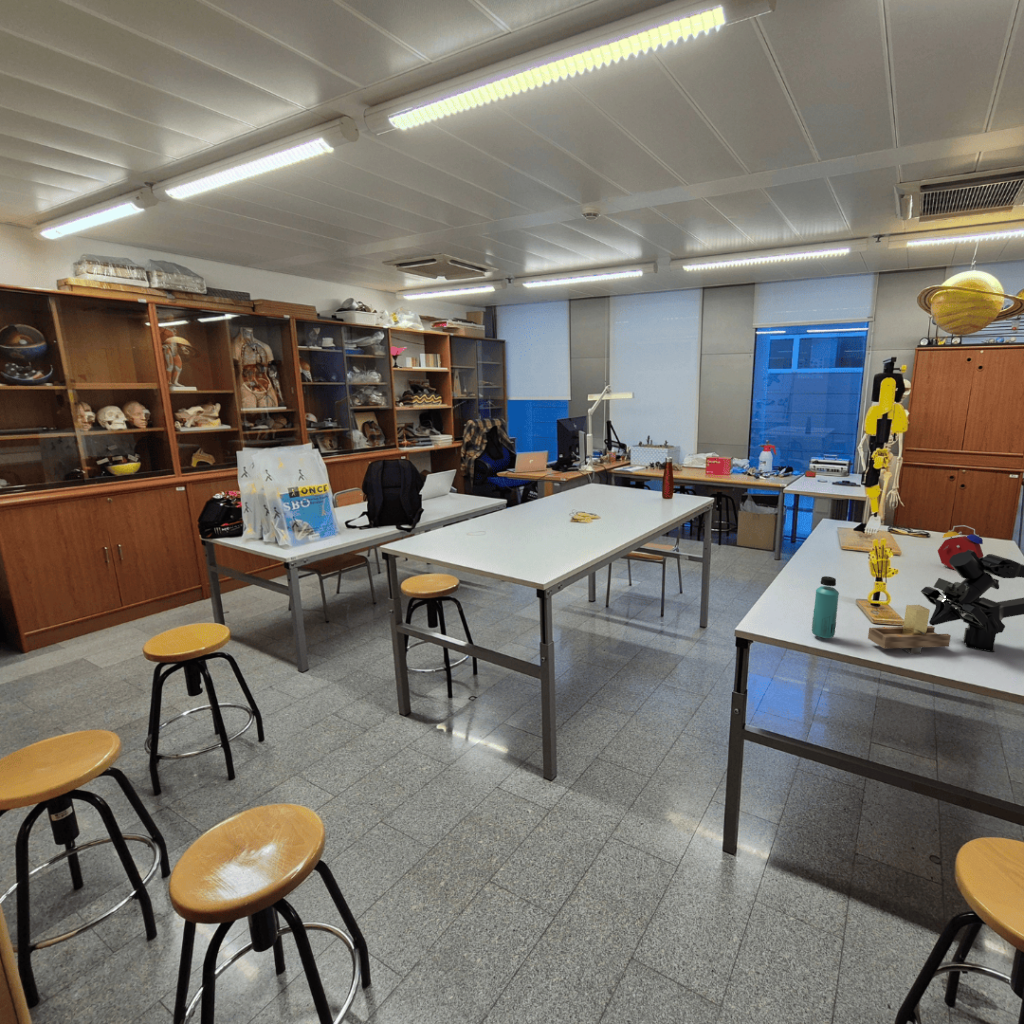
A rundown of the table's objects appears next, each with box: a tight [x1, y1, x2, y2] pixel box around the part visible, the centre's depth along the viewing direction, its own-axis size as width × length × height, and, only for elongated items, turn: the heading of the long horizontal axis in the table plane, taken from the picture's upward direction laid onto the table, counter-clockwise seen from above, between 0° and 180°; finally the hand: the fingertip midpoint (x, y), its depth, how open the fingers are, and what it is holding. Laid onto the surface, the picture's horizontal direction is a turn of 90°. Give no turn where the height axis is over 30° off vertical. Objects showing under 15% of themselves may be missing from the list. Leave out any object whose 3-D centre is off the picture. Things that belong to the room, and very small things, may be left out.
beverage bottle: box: [811, 575, 840, 639], centre depth 172 cm, size 6×7×20 cm
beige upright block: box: [902, 604, 931, 635], centre depth 165 cm, size 4×7×9 cm, turn 4°
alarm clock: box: [937, 524, 985, 571], centre depth 241 cm, size 15×9×20 cm, turn 35°
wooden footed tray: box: [867, 625, 951, 655], centre depth 166 cm, size 20×7×6 cm, turn 94°
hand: (930, 624), depth 165 cm, fingers closed
